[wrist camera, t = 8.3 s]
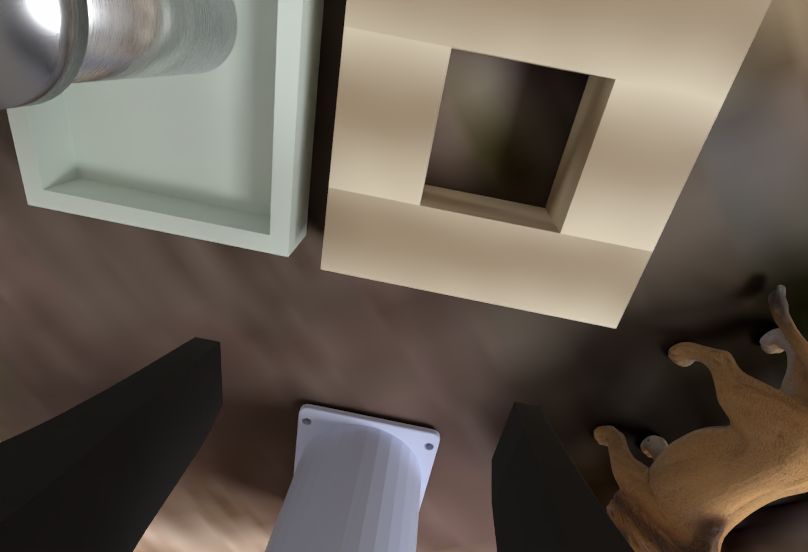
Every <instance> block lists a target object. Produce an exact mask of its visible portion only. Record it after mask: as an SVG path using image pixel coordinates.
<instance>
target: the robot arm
mask: <svg viewBox="0 0 808 552" xmlns="http://www.w3.org/2000/svg"><path fill="white" fill-rule="evenodd" d="M222 404H223V402H222V376H221V350H220V342H217V341H212V340H207V339H202V338H197V337H195V338H193V339H192V340H190V341H188V342H186V343H185V344H183V345H181V346H180V347H178V348H176V349H175V350H173V351H171V352H170V353H168V354H166V355H165V356H163V357H161V358H160V359H158V360H156V361H155V362H153V363H151V364H150V365H148V366H146V367H145V368H143V369H141V370H140V371H138V372H136V373H134V374H133V375H131V376H129V377H128V378H126V379H124V380H122V381H121V382H119V383H117V384H116V385H114V386H112V387H110V388H109V389H107V390H105V391H103V392H101V393H99V394H97V395H96V396H94V397H92V398H90V399H88V400H86V401H84V402H83V403H81V404H79V405H77V406H75V407H73V408H71V409H69V410H68V411H66V412H64V413H62V414H60V415H58V416H56V417H54V418H52V419H50V420H48V421H46V422H44V423H42V424H40V425H38V426H36V427H34V428H32V429H30V430H28V431H25V432H23V433H21V434H19V435H17V436H14V437H12V438H10V439H8V440H6V441H3V442H1V443H0V552H133V550H134V549H135V547H136V545H137V544H138V542H139V541H140V539H141V537H142V536H143V534H144V532H145V531H146V529H147V528H148V526H149V525H150V523H151V522H152V520H153V519H154V517H155V516H156V514H157V513H158V511H159V510H160V508H161V507H162V505H163V504H164V502H165V501H166V499H167V498H168V496H169V495H170V493H171V492H172V490H173V489H174V487H175V485H176V484H177V482H178V481H179V479H180V478H181V476H182V475H183V473H184V472H185V470H186V469H187V467H188V466H189V464H190V463H191V461H192V460H193V458H194V457H195V455H196V453H197V452H198V450H199V449H200V447H201V446H202V444H203V442H204V441H205V439H206V437H207V435H208V433H209V431H210V429H211V427H212V425H213V423H214V421H215V419H216V417H217V415H218V413H219V411H220V408H221V406H222ZM306 418H308V419H310V420H307V419H306ZM439 442H440V434H439V432H437V431H436V430H434V429H429V428H424V427H419V426H415V425H410V424H405V423H400V422H395V421H390V420H385V419H380V418H375V417H371V416H366V415H361V414H356V413H351V412H346V411H341V410H336V409H331V408H326V407H322V406H317V405H312V404H304V405H303V406H301V409H300V411H299V417H298V429H297V441H296V452H295V464H294V476H293V479H292V482H291V484H290V487H289V490H288V492H287V495H286V497H285V500H284V503H283V505H282V508H281V511H280V513H279V516H278V519H277V521H276V524H275V526H274V529H273V532H272V534H271V537H270V540H269V542H268V545H267V548H266V550H265V552H416V543H417V530H418V516H419V510H420V506H421V503H422V500H423V496H424V493H425V489H426V486H427V483H428V479H429V476H430V472H431V469H432V466H433V462H434V459H435V455H436V452H437V449H438V445H439ZM427 443H430V444H431V445H428V444H427ZM492 508H493V518H494V527H495V536H496V544H497V552H635V551H634V550H633V548H632V547H631V546H630V544H629V543H628V542H627V541H626V539H625V538H624V536H623V535H622V534H621V532H620V531H619V530H618V528H617V527H616V525H615V524H614V523H613V521H612V520H611V518H610V517H609V516H608V514H607V513H606V511H605V510H604V509H603V507H602V506H601V504H600V503H599V501H598V500H597V498H596V497H595V495H594V494H593V492H592V491H591V489H590V488H589V486H588V485H587V483H586V481H585V480H584V478H583V477H582V475H581V474H580V472H579V471H578V469H577V468H576V466H575V464H574V463H573V461H572V460H571V458H570V456H569V455H568V453H567V451H566V450H565V448H564V446H563V445H562V443H561V442H560V440H559V438H558V437H557V435H556V433H555V432H554V430H553V428H552V427H551V425H550V423H549V422H548V420H547V418H546V417H545V415H544V413H543V412H542V410H541V409H540V407H536V406H531V405H526V404H522V403H517V402H514V405H513V407H512V410H511V412H510V415H509V417H508V420H507V422H506V425H505V427H504V430H503V432H502V435H501V437H500V440H499V442H498V445H497V448H496V450H495V453H494V455H493V458H492Z"/></svg>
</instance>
